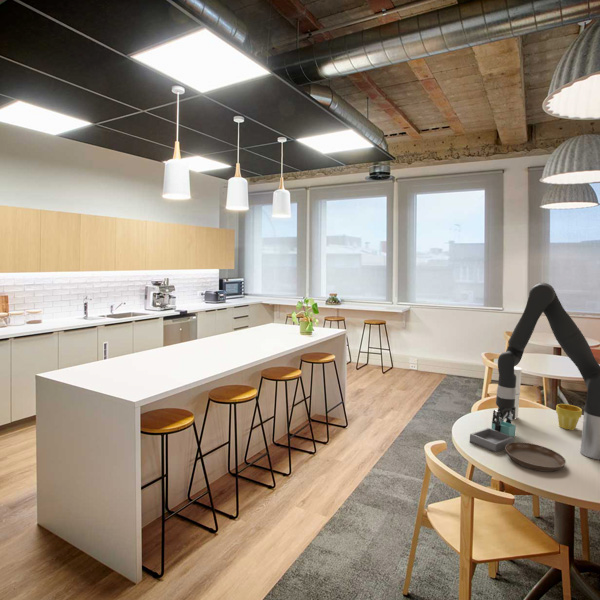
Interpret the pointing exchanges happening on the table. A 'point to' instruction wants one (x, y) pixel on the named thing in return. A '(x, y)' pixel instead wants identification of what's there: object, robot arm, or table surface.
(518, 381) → the cylindrical container
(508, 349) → the robot arm
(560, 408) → the plant pot
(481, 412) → the table surface
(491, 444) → the grey rectangular tray
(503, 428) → the small crate
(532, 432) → the table surface
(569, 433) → the table surface
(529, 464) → the plant saucer
